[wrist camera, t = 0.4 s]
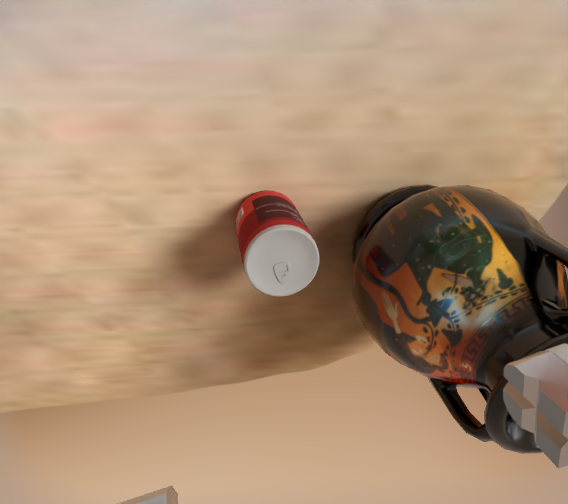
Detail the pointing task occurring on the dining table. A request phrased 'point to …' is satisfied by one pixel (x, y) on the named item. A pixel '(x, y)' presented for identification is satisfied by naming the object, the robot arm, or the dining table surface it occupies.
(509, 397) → the robot arm
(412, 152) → the dining table surface
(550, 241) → the amphora vase
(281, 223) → the canned food
